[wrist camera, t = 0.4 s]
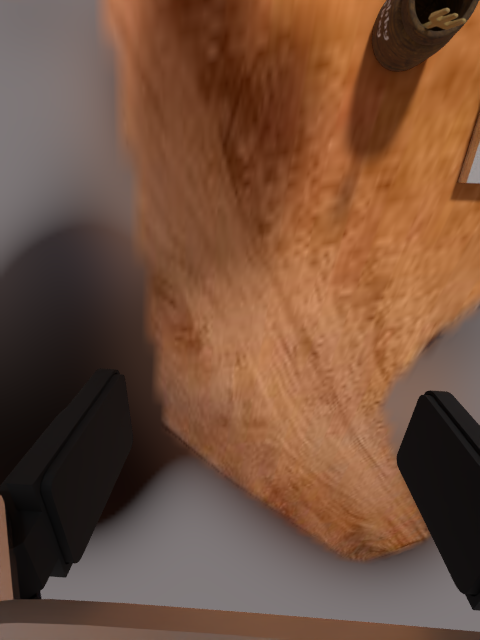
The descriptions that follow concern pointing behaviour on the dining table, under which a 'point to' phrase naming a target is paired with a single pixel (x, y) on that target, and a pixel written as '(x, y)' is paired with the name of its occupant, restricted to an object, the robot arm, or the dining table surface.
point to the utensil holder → (416, 29)
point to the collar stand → (472, 158)
